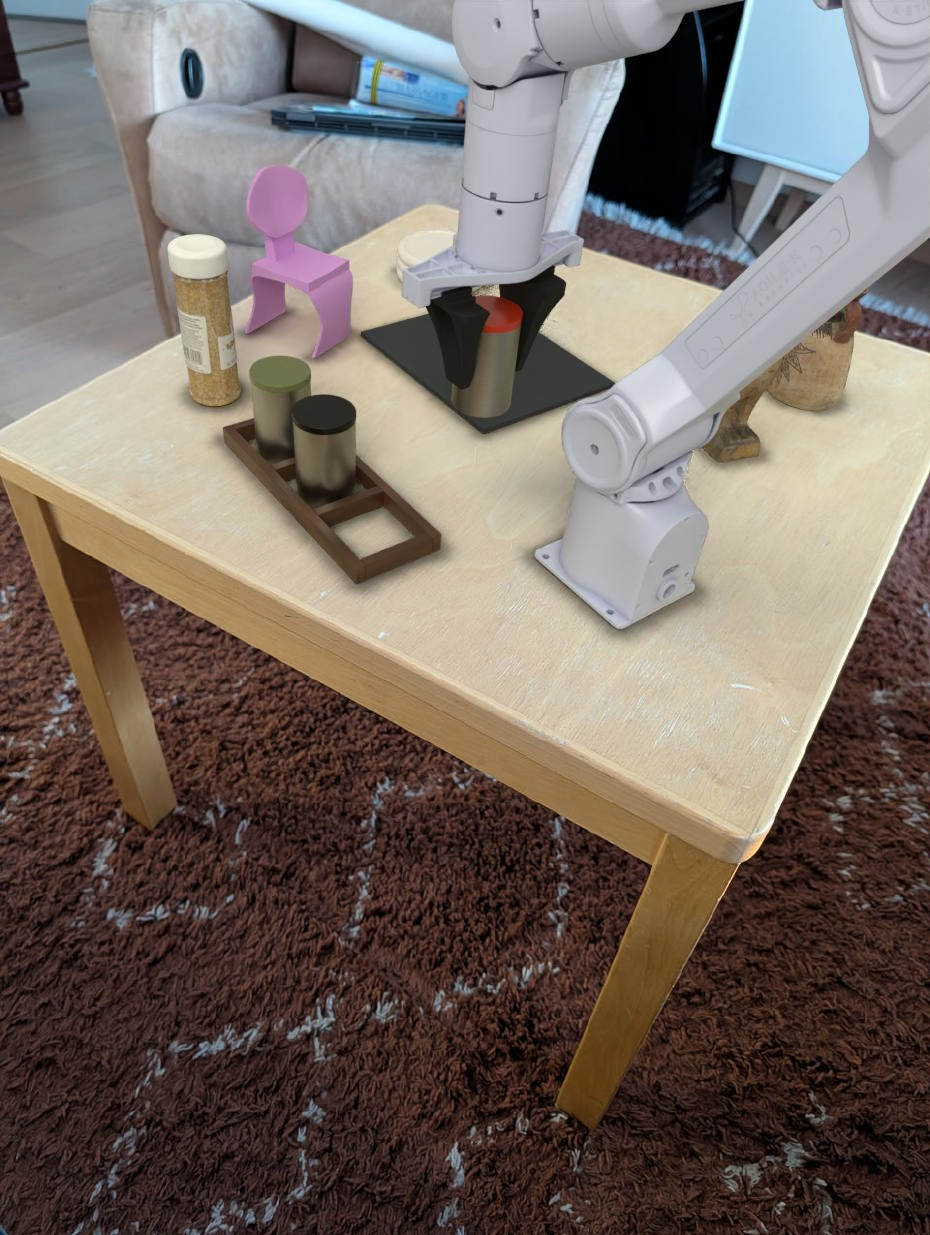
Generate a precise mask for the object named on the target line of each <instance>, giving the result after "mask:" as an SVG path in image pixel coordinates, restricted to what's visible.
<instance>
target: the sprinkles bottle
mask: <svg viewBox="0 0 930 1235" xmlns="http://www.w3.org/2000/svg"><path fill="white" fill-rule="evenodd" d="M167 257H168V258H167V259H168V265H169V269H170V271H171V275H172V276H173V277H172V278H173V283H174V289H175V295H176V296H175V298H176V308H177V316H178V321H179V329H180V336H181V341H182V348H183V355H184V361H185V364H186V368H187V369H186V370H187V375H188V381H189V388H188V392H189V396H190V398H191V399H192V400H193V401H195V402H196V403H198V404H201V405H204V406H208V407H219V406H226V405H228V404H232V403H233V402H235V401H237V399H239V397H240V396H241V393H242V386H241V383H240V378H239V369H238V362H237V361H238V354H237V346H236V345H237V344H236V338H235V328H234V320H233V312H232V307H231V298H230V290H229V280H228V272H229V266H230V265H229V264H230V263H229V256H228V248H227V244H226V243H225V242H224V241H223V240H222V239H220V238H218V237H216V236H214V235H213V236H212V235H209V234H200V233H195V234H185V235H181V236H178V237H176V238H174V239H172V240H170V241H169V243H168V245H167Z"/></svg>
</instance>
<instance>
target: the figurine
mask: <svg viewBox="0 0 930 1235" xmlns="http://www.w3.org/2000/svg"><path fill="white" fill-rule="evenodd" d="M868 291H869V287H868V288H867V289H866V290H864V291H863V292H862V293H861V294H859V295H858V296H857V297H856V298H854V299H853V300H852V301H851V302H850V303H848V304H847V305H846V306H845V307H843V308H842V309H841V310H840V311H838V312H837V313H836V314H835V315H834V316H832V317H831V318H830V319H829V320H827V321H826V322H825V323H824V324H822V325H821V326H820V327H819V328H818V329H816V330H815V331H814V332H813V333H811V334H810V335H809V336H808V337H806V338H805V339H804V340H803V341H802V342H800V343H799V344H798V345H797V346H795V347H794V348H793V349H792V350H790V351H789V352H788V353H787V354H786V355H784V356H783V359H782V362H781V364H780V367H779V370H778V372H777V374H776V376H775V378H774V380H773V381H772V382H771V383H770V385H769V386H768V388H767V389H766V391H767V392H768V394H770V396H771V397H772V398H774V399H776V400H777V401H779V402H780V403H783V404H785V405H787V406H790V407H793V408H797V409H801V410H805V411H817V412H818V411H825V410H828V409H831V408H833V407H834V406H835V405H836V404H837V403H838V401H839V400H840V399H841V397H842V396H843V394H844V392H845V388H846V385H847V381H848V377H849V372H850V369H851V363H852V357H853V353H854V346H855V332H856V330H858V327H859V326H860V323H861V320H862V316H863V310H862V304H861V302H860V300H861V299H862V298H863V297H865V296H866V295H867V294H868Z"/></svg>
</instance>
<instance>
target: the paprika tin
mask: <svg viewBox="0 0 930 1235" xmlns="http://www.w3.org/2000/svg"><path fill="white" fill-rule="evenodd" d="M475 296H476V301H475V302H476V303H477V304H479V305H480V306H482V307H483V308H485V309H486V310H488V311H489V312H490V313H491V314H490V315H489V317H488V319H487V321H486V323H485V325H484V327H483V330H482V332H481V335H480V338H479V341H478V345H477V349H476V354H475V362H474V369H473V376H472V380H471V383H470V386H469V388H466V389H463V390H462V389H459V388H458V387H457V386H455V385H454V384H453V383H452V394H451V401H452V404H453V405H454V407H455V408H456V409H457V410H459V411H460V412H462V413H464V414H467V415H470V416H474V417H481V418H489V417H496V416H499V415H502V414H503V413H505V412H506V411H507V410H508V409H509V407H510V404H511V396H512V389H513V381H514V374H515V366H516V359H517V351H518V344H519V336H520V329H521V323H522V319H523V311H522V309H521V308H520V307H519V306H518V305H517V304H516V303H514V302H512V301H510V300H508V299H505V298H502V297H500V296H497V295H487V294H486V295H483V294H481V295H475Z"/></svg>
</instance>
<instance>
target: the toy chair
mask: <svg viewBox="0 0 930 1235" xmlns="http://www.w3.org/2000/svg"><path fill="white" fill-rule="evenodd" d="M308 191H309V190H308V183H307V180H306V178H305V176H304V175H303V173H301V172H300V171H299V170H297V169H295V168H293V167H291V166H287V165H281V164H271V165H267V166H264V167H262V168H260V169H259V170H258V171H257V172H256V174H255V175H254V176H253V178H252V180H251V184H250V187H249V189H248V193H247V196H246V205H245V212H246V213H245V214H246V217H247V220H248V222H249V224H250V225H251V226H252V227H253V228H254V229H255V230H257V231H258V232H260V233H261V234H262V237H263V243H264V248H265V255H266V256H265V257H262V258H260V259H258V260H255V261H254V262H252V263H251V272H252V273H251V274H250V276H249V283H250V287H251V292H252V308H251V312H250V315H249V318H248V322H247V325H246V327H245V329H244V334H247V335H248V334H250V333H252V332H254V331H255V330H257V329H259V328H261V327H262V326H264V325H266V324H267V323H269V322H271V321H273V320H274V319H276V318H277V317H279V316H281V315H283V314H284V313H286V312H287V311H288V309H287V302H286V285H287V286H290V287H292V288H293V289H296V290H298V291H300V292H303V293H304V294H305V295H307V296H308V298H309V299H310V301H311V303H312V305H313V306H314V309H315V311H316V312H317V315H318V318H319V325H320V328H319V334H318V337H317V341H316V344H315V347H314V350H313V351H312V354H311V359H313V360H315V359H317V358H319V357H320V356H322V355H323V354H324V353H326V352H328V351H329V350H331V349H332V348H333V347H335V346H336V345H338V344H339V343H341V342H343V341H344V340H346V339H347V338H348V337H350V336H351V335H352V318H351V317H352V316H351V315H352V313H351V312H352V301H353V300H352V298H353V289H354V288H353V287H354V277H353V276H354V275H353V273H352V271H351V269H350V259H347V258H344V257H341V256H338V255H334V254H330V253H326V252H323V251H320V250H317V249H314V248H312V247H310V246H307V245H306V244H302V243H300V242H296V241H294V239H293V238H294V237H293V236H294V231H295V230H296V229H297V228H298V227H299V226H300V225H301V224H302V223H303V221H304V220H305V219H306V218H307V212H308V211H307V210H308V198H309V197H308V195H309V194H308V193H309V192H308Z"/></svg>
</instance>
